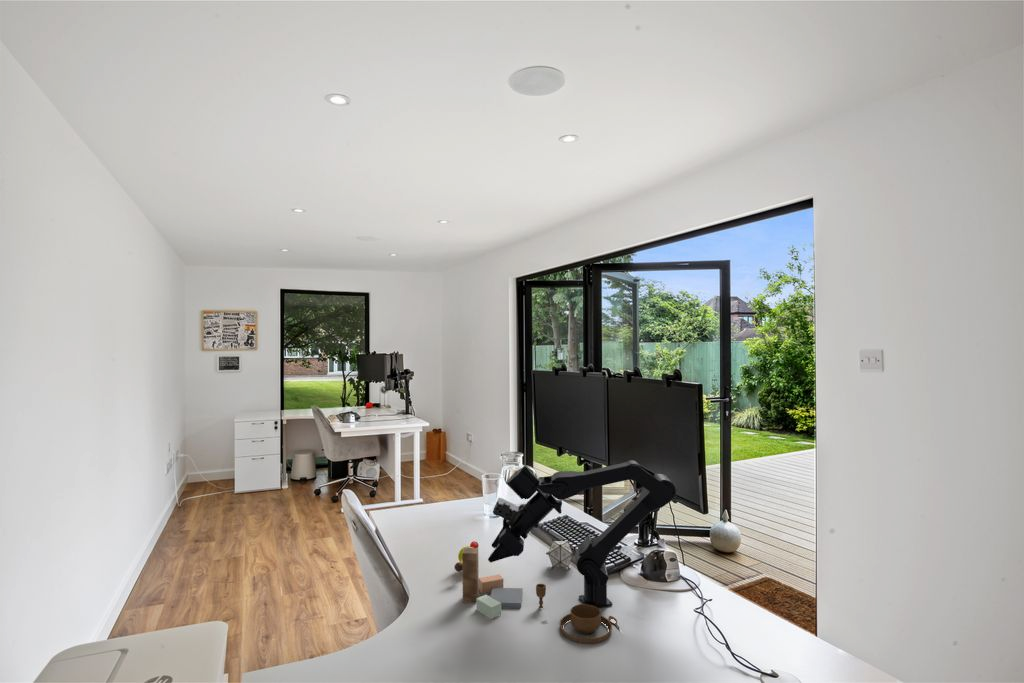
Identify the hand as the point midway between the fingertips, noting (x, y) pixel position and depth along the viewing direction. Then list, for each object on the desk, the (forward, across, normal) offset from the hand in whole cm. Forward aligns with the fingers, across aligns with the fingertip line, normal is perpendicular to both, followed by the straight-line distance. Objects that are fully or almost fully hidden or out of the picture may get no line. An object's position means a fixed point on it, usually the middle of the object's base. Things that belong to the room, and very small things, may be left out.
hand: (490, 553), depth 142 cm
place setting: (-7, +10, +24) cm, 27 cm away
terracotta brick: (+9, -6, +8) cm, 13 cm away
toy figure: (+14, -17, +3) cm, 23 cm away
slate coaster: (+6, 0, +11) cm, 12 cm away
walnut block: (+12, 0, +5) cm, 13 cm away
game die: (-4, -20, +21) cm, 30 cm away
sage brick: (+8, +6, +9) cm, 14 cm away
